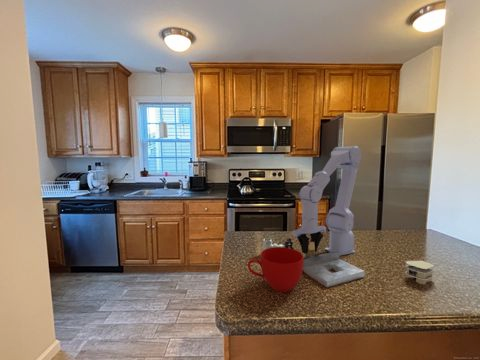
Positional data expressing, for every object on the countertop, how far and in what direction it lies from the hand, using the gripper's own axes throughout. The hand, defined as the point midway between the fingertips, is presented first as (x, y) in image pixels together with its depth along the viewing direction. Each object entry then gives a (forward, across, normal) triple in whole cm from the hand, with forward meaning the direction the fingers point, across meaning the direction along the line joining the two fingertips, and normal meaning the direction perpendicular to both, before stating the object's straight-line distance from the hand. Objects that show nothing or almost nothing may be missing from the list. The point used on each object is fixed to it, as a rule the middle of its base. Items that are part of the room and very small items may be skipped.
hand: (309, 252), depth 92 cm
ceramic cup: (+3, +22, +11) cm, 25 cm away
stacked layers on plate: (+4, -22, +26) cm, 35 cm away
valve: (+3, +8, -10) cm, 14 cm away
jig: (+3, 0, +12) cm, 12 cm away
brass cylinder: (+2, 0, 0) cm, 2 cm away
